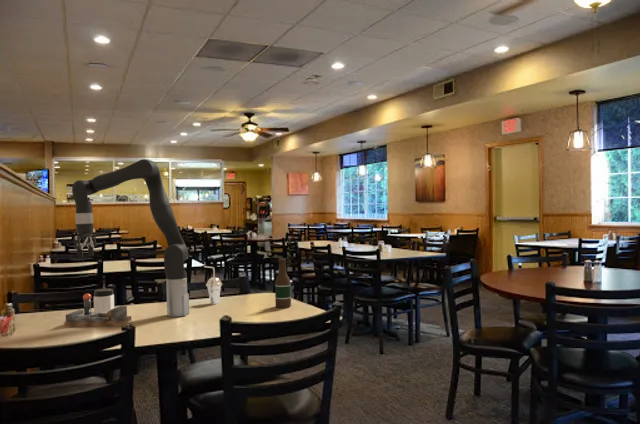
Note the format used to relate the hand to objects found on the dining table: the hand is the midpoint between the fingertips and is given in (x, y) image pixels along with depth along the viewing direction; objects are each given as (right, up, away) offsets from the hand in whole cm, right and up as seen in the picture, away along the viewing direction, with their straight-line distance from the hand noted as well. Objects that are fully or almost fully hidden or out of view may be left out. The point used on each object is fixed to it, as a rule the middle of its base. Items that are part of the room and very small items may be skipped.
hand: (85, 257), depth 230 cm
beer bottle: (+93, -26, +13) cm, 97 cm away
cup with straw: (+55, -27, +24) cm, 66 cm away
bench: (+13, -28, -16) cm, 35 cm away
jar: (+8, -28, +2) cm, 29 cm away
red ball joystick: (+9, -26, -16) cm, 31 cm away
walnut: (+19, -26, -17) cm, 36 cm away
